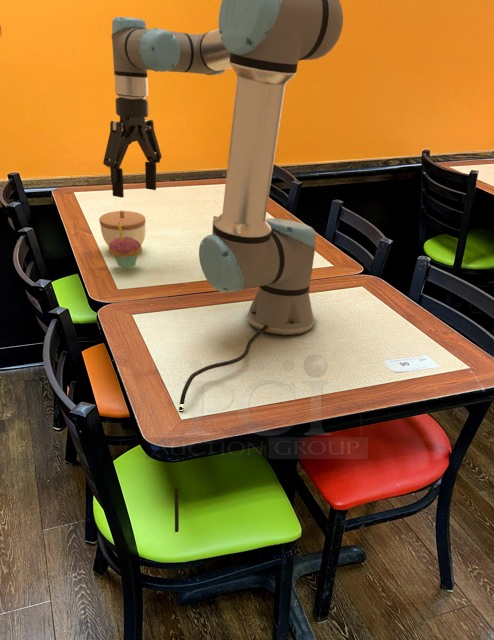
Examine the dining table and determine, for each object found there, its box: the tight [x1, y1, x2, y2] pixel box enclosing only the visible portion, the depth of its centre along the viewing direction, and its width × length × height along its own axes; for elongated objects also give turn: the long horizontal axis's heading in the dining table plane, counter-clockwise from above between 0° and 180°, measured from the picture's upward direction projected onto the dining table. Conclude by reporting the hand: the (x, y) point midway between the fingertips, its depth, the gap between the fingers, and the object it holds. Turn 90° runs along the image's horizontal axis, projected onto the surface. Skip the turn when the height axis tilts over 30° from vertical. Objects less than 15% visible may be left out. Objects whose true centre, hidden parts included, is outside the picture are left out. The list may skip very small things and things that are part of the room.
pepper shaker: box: [211, 213, 222, 235], centre depth 171 cm, size 4×4×10 cm
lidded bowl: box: [98, 209, 146, 247], centre depth 160 cm, size 13×13×11 cm
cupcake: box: [108, 222, 142, 269], centre depth 149 cm, size 9×8×12 cm
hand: (135, 192), depth 143 cm, fingers open, 13 cm apart
